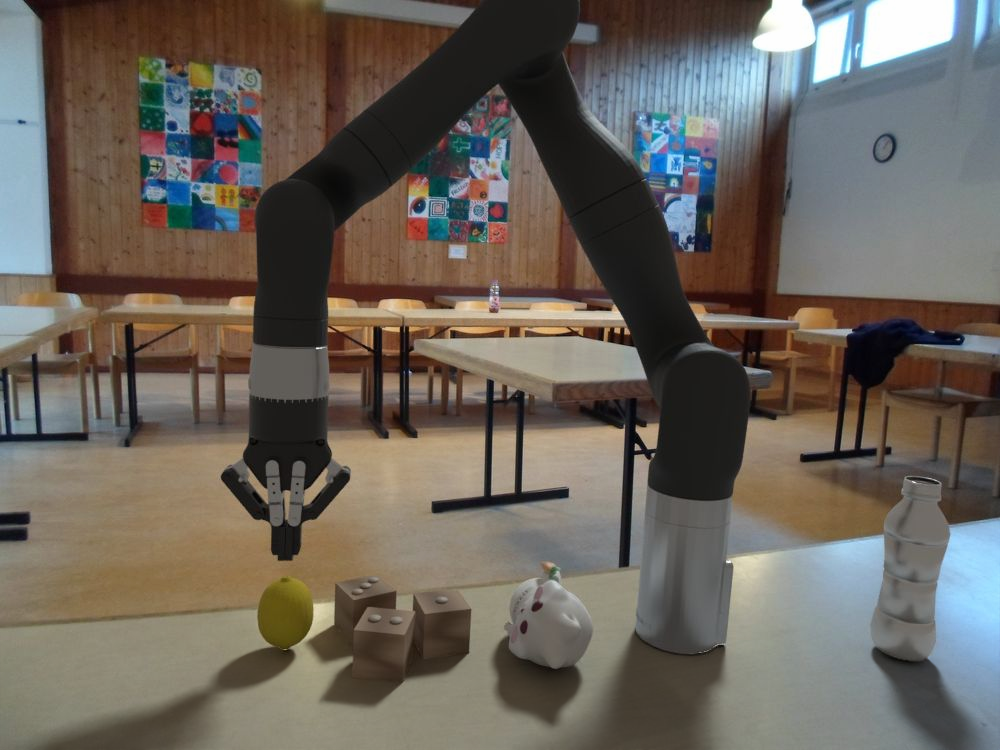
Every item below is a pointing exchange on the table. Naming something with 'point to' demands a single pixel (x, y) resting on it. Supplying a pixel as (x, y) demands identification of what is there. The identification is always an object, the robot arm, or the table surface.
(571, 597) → the cat figurine
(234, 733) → the table surface
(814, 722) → the table surface
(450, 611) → the block one dot
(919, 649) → the plastic bottle
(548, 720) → the table surface
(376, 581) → the block three dots
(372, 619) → the block two dots
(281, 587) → the lemon
